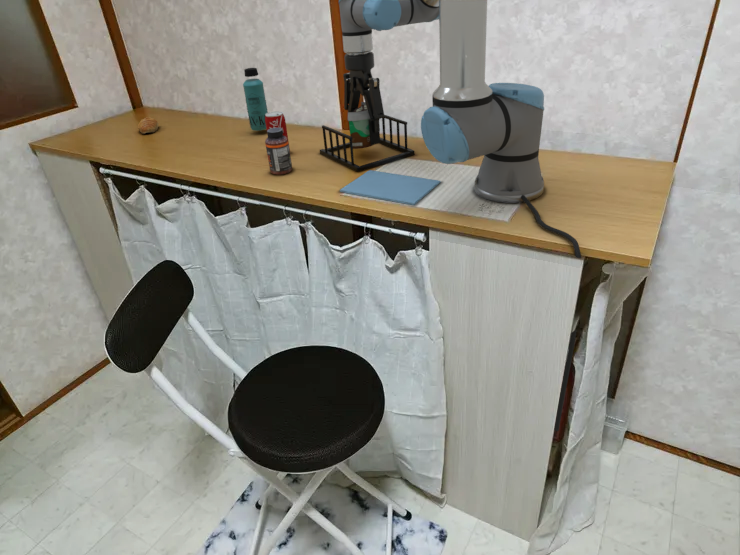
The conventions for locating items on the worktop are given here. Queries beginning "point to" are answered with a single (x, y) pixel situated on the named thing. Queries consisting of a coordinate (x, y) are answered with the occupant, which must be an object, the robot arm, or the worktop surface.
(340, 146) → the dish rack
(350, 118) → the food container
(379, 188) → the drying mat
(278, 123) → the soda can
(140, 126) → the pastry
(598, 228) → the worktop surface
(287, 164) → the supplement bottle
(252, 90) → the beverage bottle
